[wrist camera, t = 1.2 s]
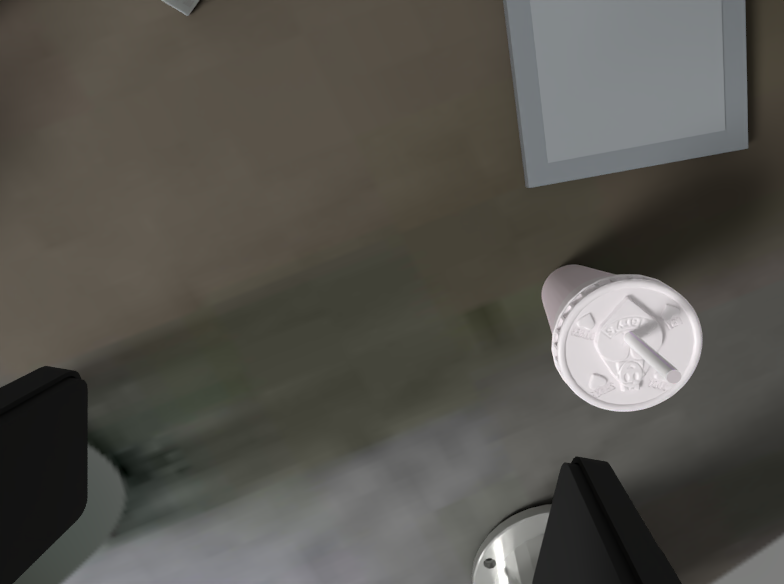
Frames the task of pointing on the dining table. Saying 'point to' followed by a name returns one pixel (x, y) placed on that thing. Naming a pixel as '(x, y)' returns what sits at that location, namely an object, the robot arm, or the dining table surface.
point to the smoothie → (620, 336)
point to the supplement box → (182, 5)
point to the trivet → (625, 83)
